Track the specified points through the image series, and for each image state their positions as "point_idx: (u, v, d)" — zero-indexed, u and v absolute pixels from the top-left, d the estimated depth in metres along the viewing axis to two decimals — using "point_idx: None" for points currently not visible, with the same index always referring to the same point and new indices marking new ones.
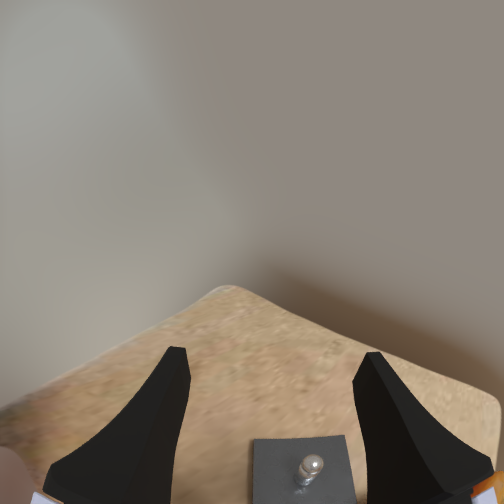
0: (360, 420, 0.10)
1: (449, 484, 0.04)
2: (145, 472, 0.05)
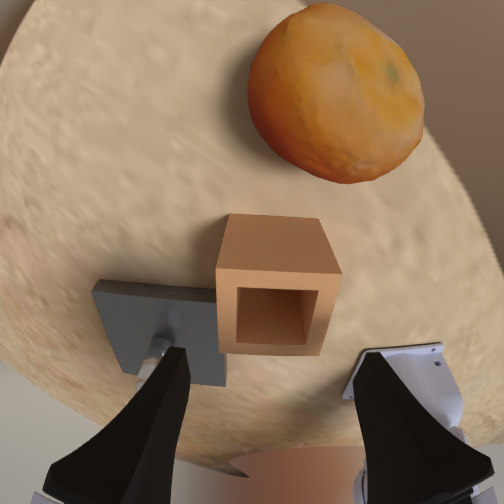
0: (360, 420, 0.10)
1: (449, 484, 0.04)
2: (145, 472, 0.05)
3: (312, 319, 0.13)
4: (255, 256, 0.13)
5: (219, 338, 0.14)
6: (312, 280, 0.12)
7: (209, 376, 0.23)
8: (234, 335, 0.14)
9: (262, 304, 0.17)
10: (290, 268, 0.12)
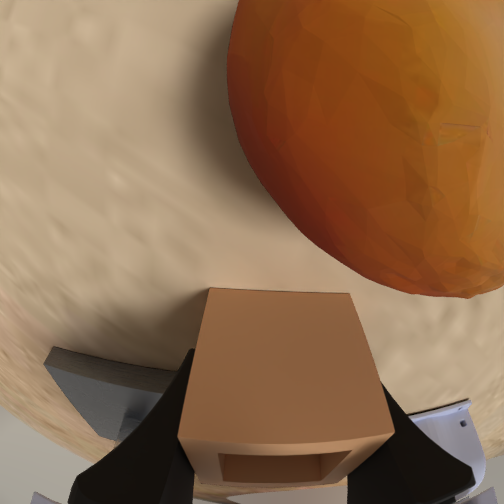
0: None
1: (424, 494, 0.04)
2: (175, 478, 0.05)
3: (335, 466, 0.07)
4: (249, 404, 0.06)
5: (199, 477, 0.08)
6: (345, 444, 0.06)
7: None
8: (220, 478, 0.07)
9: None
10: (310, 433, 0.06)
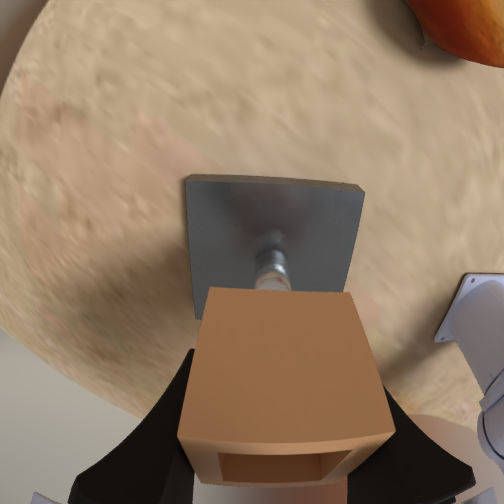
0: None
1: (424, 494, 0.04)
2: (175, 478, 0.05)
3: (335, 466, 0.07)
4: (249, 403, 0.06)
5: (199, 477, 0.08)
6: (346, 444, 0.06)
7: None
8: (219, 477, 0.07)
9: None
10: (311, 432, 0.06)
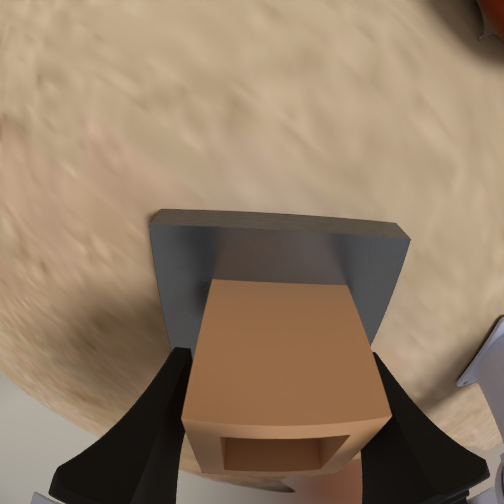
0: None
1: (443, 486, 0.04)
2: (152, 474, 0.05)
3: (334, 453, 0.07)
4: (250, 388, 0.07)
5: (200, 465, 0.08)
6: (344, 428, 0.06)
7: None
8: (221, 466, 0.08)
9: None
10: (310, 415, 0.06)
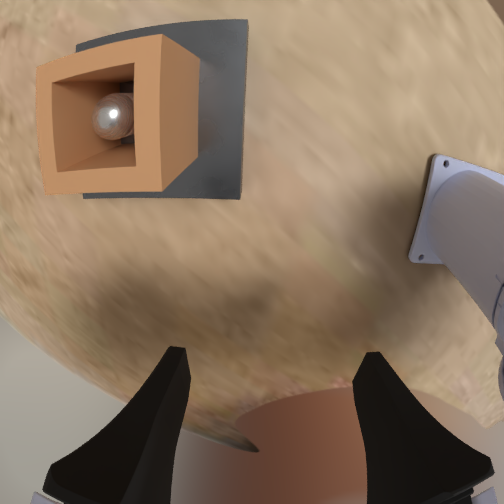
0: (360, 420, 0.10)
1: (449, 484, 0.04)
2: (145, 472, 0.05)
3: (135, 113, 0.08)
4: None
5: (42, 168, 0.09)
6: (125, 50, 0.07)
7: (215, 172, 0.15)
8: (53, 159, 0.08)
9: (119, 152, 0.11)
10: None
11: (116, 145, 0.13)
